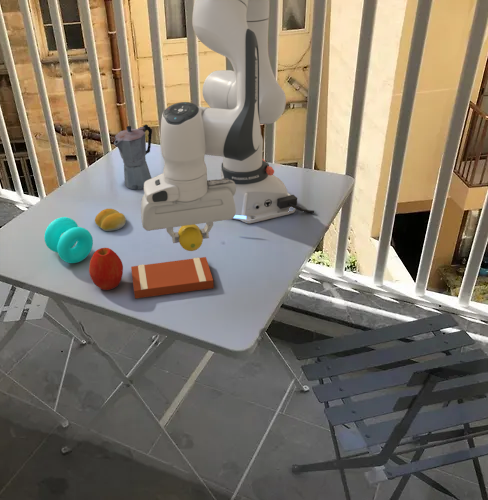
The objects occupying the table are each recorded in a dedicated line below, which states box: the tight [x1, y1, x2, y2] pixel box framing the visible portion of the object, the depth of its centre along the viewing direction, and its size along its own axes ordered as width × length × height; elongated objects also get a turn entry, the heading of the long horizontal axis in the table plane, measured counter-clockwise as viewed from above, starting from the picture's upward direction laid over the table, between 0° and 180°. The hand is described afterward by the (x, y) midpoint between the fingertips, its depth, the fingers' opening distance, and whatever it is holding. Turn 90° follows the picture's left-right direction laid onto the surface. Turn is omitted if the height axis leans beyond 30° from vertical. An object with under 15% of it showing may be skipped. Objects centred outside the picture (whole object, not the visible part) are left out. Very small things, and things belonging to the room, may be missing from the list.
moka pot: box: [113, 124, 153, 190], centre depth 178 cm, size 10×15×20 cm, turn 139°
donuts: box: [43, 216, 94, 264], centre depth 148 cm, size 10×10×10 cm
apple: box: [88, 247, 124, 291], centre depth 136 cm, size 8×8×11 cm
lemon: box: [177, 224, 204, 252], centre depth 123 cm, size 7×5×5 cm
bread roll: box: [94, 208, 127, 232], centre depth 162 cm, size 8×9×4 cm
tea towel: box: [130, 256, 214, 299], centre depth 138 cm, size 19×10×2 cm, turn 97°
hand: (190, 239), depth 124 cm, fingers closed on lemon, 5 cm apart
